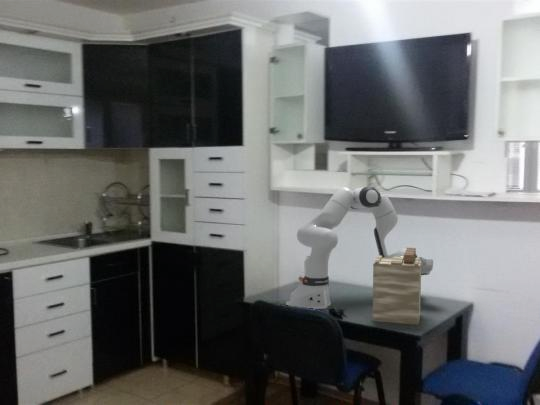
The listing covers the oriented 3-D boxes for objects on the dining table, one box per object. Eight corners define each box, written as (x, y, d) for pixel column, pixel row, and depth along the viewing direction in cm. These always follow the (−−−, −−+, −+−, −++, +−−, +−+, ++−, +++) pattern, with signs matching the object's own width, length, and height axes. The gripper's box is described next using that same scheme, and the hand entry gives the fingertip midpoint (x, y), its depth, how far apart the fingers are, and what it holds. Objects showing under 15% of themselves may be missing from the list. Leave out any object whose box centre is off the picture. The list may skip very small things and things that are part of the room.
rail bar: (413, 264, 248) (413, 255, 247) (403, 263, 249) (404, 254, 248) (415, 256, 267) (415, 247, 266) (406, 255, 268) (407, 247, 267)
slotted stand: (418, 324, 245) (419, 263, 243) (372, 320, 251) (373, 261, 249) (420, 314, 260) (421, 257, 258) (376, 311, 266) (377, 255, 264)
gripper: (391, 260, 285) (389, 250, 273) (433, 262, 279) (433, 252, 267) (390, 272, 283) (388, 262, 271) (432, 274, 276) (432, 265, 264)
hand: (411, 257), depth 269 cm, fingers open, 8 cm apart
